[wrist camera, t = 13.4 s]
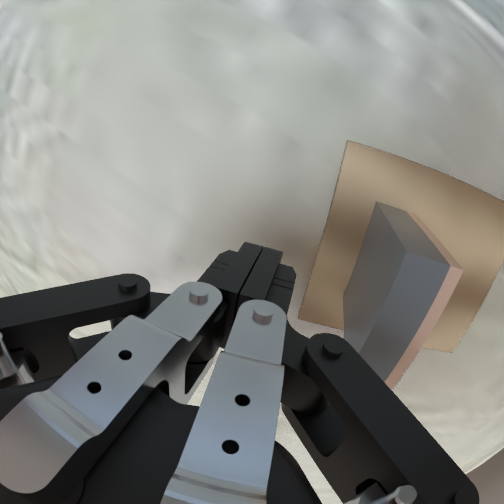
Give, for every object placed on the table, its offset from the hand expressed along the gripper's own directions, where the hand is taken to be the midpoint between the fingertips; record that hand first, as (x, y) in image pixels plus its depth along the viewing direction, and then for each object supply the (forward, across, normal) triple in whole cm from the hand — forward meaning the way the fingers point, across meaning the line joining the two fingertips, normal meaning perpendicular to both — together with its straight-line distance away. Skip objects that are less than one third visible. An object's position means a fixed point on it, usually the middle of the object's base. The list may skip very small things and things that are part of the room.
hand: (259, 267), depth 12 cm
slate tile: (+5, -6, 0) cm, 8 cm away
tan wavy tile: (+6, -8, 0) cm, 10 cm away
